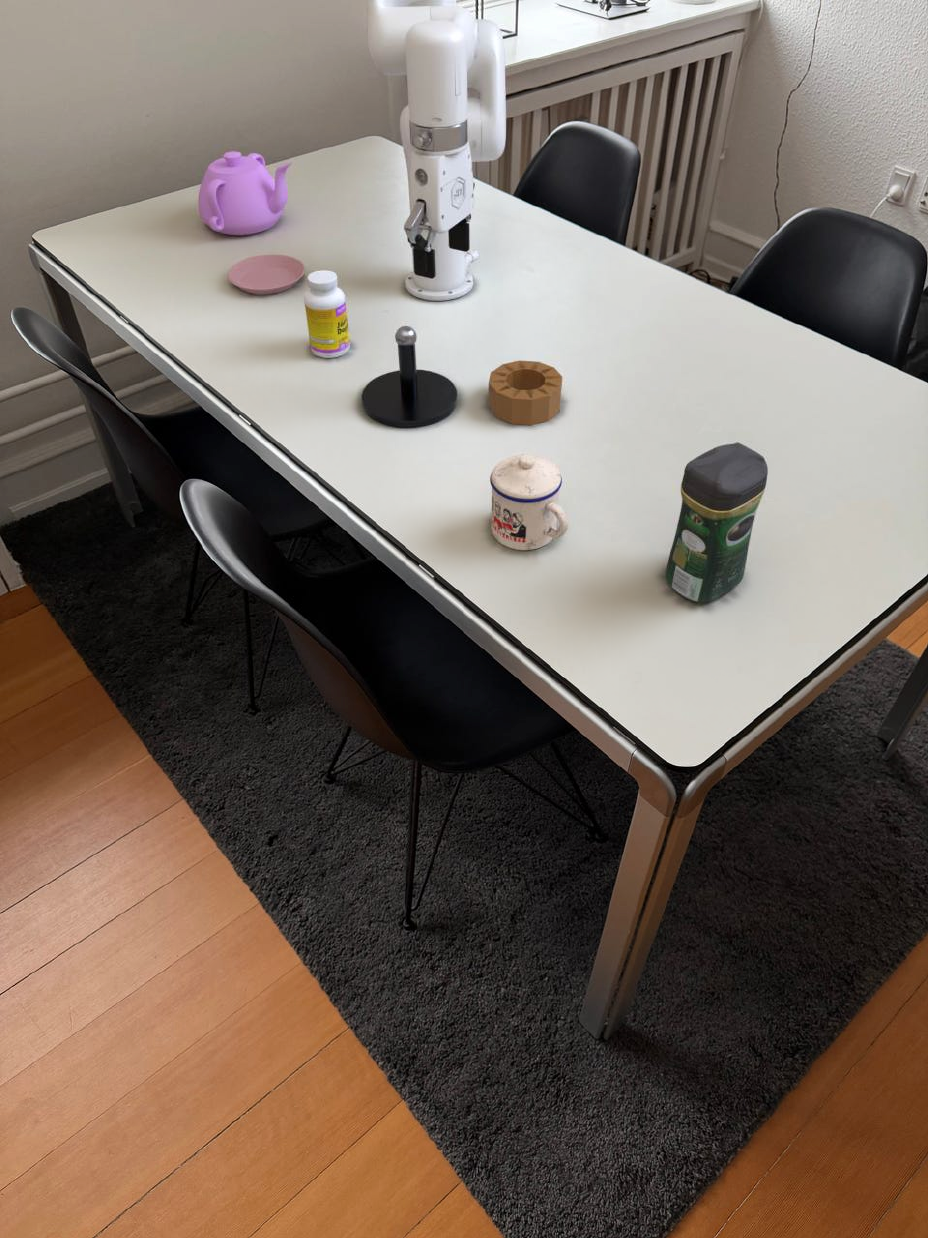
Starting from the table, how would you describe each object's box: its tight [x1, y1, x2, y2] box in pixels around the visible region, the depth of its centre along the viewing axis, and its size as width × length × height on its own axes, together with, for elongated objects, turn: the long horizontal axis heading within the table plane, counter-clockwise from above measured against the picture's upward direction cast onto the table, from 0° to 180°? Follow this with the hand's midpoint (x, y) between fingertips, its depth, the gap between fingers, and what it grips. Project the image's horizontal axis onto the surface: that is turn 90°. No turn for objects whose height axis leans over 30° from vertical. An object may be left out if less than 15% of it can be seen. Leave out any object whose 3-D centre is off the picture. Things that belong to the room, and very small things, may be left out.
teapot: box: [197, 150, 292, 236], centre depth 191 cm, size 22×22×14 cm
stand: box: [360, 325, 459, 429], centre depth 144 cm, size 15×15×13 cm
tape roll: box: [488, 359, 563, 426], centre depth 145 cm, size 11×11×4 cm
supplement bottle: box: [303, 269, 351, 359], centre depth 155 cm, size 7×7×13 cm
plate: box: [227, 254, 306, 296], centre depth 177 cm, size 14×14×2 cm
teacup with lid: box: [489, 454, 569, 551], centre depth 121 cm, size 12×9×12 cm
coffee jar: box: [664, 441, 769, 604], centre depth 112 cm, size 10×8×19 cm
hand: (442, 262), depth 134 cm, fingers open, 9 cm apart
